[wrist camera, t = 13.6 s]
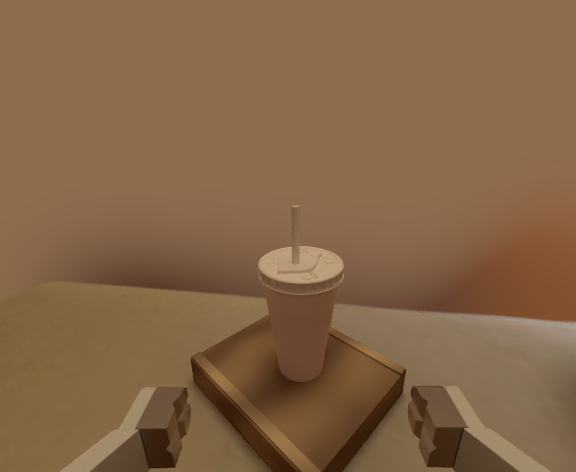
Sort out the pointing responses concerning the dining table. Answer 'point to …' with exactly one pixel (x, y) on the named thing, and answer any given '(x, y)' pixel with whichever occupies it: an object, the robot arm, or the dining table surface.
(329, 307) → the smoothie
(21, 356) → the dining table surface
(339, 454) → the board
